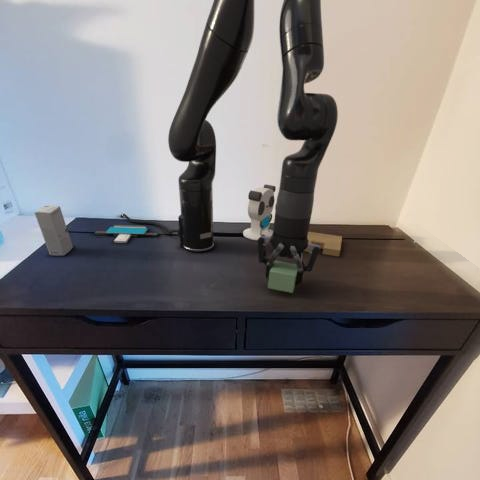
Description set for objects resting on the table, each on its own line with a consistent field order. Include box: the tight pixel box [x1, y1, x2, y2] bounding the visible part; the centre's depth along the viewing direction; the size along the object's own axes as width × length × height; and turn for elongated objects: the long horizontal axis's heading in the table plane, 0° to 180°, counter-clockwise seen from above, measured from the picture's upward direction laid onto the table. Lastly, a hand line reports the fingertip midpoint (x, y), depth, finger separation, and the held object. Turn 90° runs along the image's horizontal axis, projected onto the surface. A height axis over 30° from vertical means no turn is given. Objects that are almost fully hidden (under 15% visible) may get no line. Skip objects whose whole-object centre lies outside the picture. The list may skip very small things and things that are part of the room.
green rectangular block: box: [267, 260, 298, 294], centre depth 75 cm, size 6×10×4 cm, turn 162°
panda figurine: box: [242, 184, 277, 241], centre depth 102 cm, size 12×11×15 cm
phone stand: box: [94, 224, 159, 244], centre depth 100 cm, size 20×12×2 cm, turn 90°
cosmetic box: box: [34, 205, 74, 257], centre depth 86 cm, size 6×4×12 cm
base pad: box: [303, 231, 343, 257], centre depth 100 cm, size 14×12×2 cm
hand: (283, 281), depth 75 cm, fingers closed on green rectangular block, 6 cm apart
